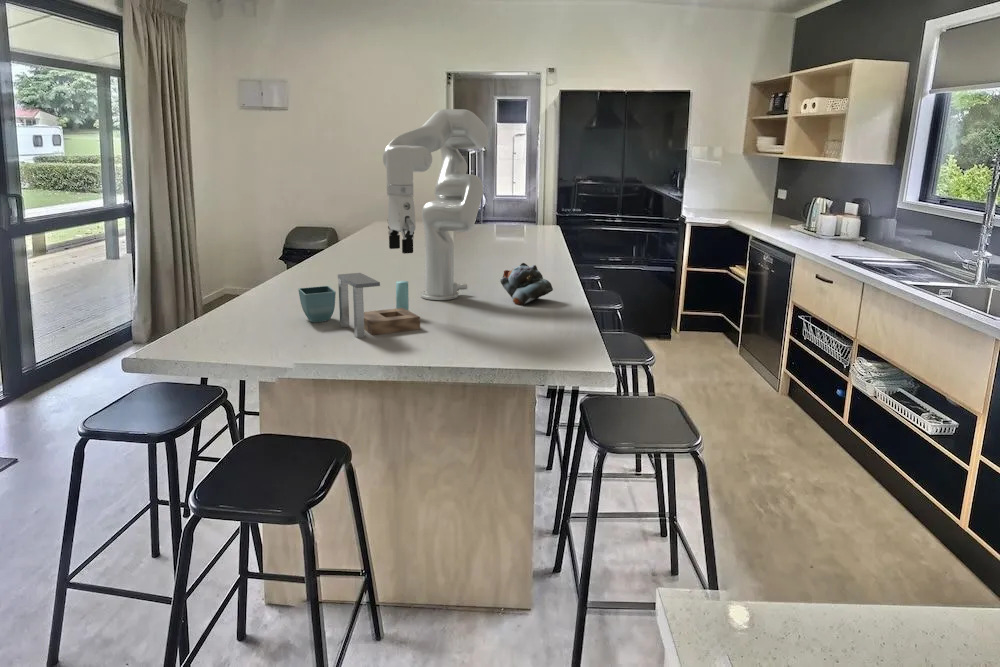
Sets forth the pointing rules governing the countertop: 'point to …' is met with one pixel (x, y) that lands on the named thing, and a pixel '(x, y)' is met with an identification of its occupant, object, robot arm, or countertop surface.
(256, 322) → the countertop surface
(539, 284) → the lucky cat figurine
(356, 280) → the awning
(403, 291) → the peg
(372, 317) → the socket
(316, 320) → the flower pot
